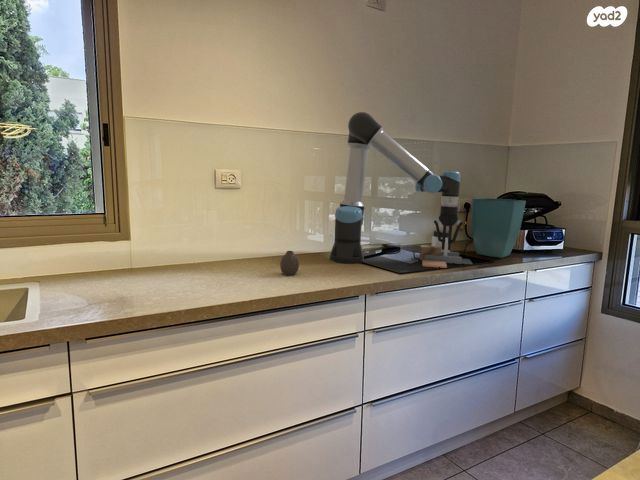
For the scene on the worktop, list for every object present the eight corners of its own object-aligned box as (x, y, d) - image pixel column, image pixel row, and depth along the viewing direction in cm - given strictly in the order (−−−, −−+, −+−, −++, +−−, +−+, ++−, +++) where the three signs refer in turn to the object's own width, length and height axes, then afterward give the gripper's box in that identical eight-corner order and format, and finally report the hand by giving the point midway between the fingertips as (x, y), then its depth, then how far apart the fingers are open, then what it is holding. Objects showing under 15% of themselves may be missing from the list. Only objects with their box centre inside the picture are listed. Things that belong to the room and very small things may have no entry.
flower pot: (520, 255, 212) (526, 200, 208) (507, 260, 197) (514, 201, 193) (481, 250, 225) (486, 197, 221) (466, 254, 210) (471, 198, 206)
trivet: (422, 266, 178) (422, 264, 178) (422, 261, 188) (422, 260, 187) (446, 268, 176) (447, 266, 176) (445, 263, 185) (445, 261, 185)
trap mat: (462, 264, 185) (462, 263, 185) (459, 259, 197) (459, 258, 197) (472, 264, 184) (472, 264, 184) (469, 259, 196) (469, 259, 196)
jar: (443, 257, 199) (445, 232, 198) (428, 254, 205) (429, 230, 203) (452, 255, 206) (454, 231, 204) (437, 253, 211) (439, 229, 210)
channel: (424, 261, 189) (424, 254, 188) (423, 256, 200) (424, 250, 200) (461, 264, 185) (461, 257, 185) (458, 259, 197) (459, 252, 197)
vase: (277, 272, 157) (278, 250, 155) (294, 271, 159) (295, 249, 158) (283, 277, 150) (284, 253, 149) (301, 276, 153) (302, 252, 152)
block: (419, 259, 192) (420, 247, 191) (420, 257, 198) (421, 244, 198) (439, 261, 189) (441, 248, 188) (440, 258, 196) (441, 246, 195)
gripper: (434, 205, 187) (431, 257, 190) (465, 207, 184) (460, 259, 187) (434, 204, 194) (430, 254, 197) (463, 206, 191) (459, 256, 195)
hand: (445, 256), depth 192 cm, fingers closed
